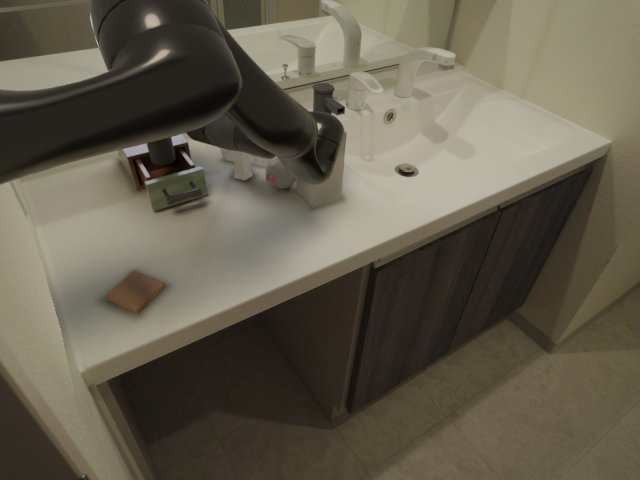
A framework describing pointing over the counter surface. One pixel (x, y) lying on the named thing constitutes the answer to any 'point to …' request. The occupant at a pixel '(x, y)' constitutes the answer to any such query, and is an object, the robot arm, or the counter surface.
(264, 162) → the eyeglasses
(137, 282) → the coaster
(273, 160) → the figurine
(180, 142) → the cabinet
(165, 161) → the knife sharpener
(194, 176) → the drawer
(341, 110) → the soap dispenser
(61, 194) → the counter surface
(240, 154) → the perfume bottle
